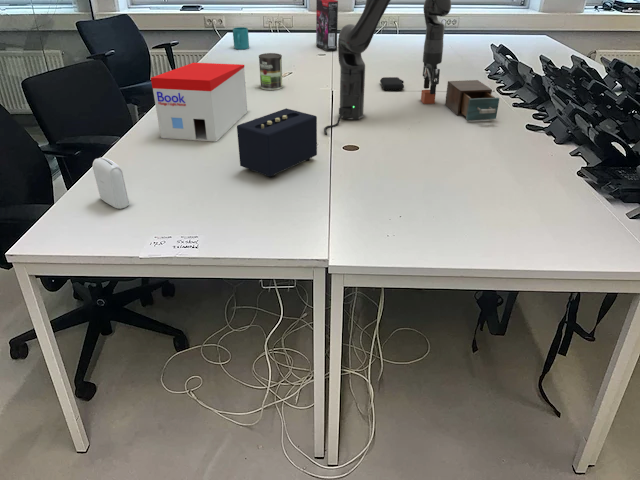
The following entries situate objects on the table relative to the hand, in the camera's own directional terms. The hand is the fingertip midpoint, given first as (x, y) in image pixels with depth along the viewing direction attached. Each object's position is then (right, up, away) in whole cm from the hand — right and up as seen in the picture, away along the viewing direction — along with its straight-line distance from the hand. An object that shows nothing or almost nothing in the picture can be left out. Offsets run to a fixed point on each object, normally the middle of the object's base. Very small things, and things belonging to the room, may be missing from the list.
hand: (429, 91), depth 219 cm
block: (0, -4, +2) cm, 5 cm away
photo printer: (-101, -52, -76) cm, 137 cm away
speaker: (-58, -39, -55) cm, 88 cm away
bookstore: (-88, -18, -21) cm, 92 cm away
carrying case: (-12, +8, +23) cm, 27 cm away
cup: (-93, +53, +99) cm, 145 cm away
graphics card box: (-41, +53, +98) cm, 118 cm away
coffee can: (-68, +8, +24) cm, 72 cm away
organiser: (+13, -9, -6) cm, 17 cm away
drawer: (+15, -14, -17) cm, 26 cm away
